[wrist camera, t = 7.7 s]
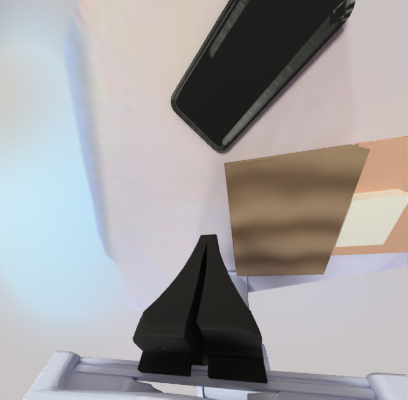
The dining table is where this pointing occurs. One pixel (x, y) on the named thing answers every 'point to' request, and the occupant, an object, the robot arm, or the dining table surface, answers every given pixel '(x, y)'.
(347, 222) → the tile
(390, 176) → the mat
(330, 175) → the butcher block
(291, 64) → the phone
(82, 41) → the dining table surface
